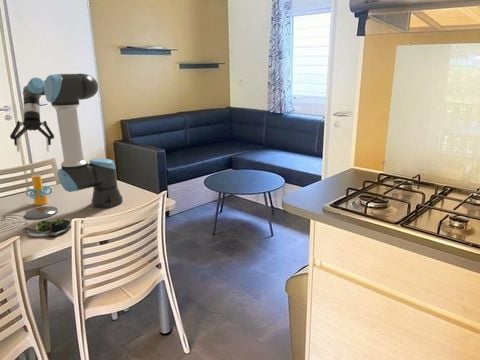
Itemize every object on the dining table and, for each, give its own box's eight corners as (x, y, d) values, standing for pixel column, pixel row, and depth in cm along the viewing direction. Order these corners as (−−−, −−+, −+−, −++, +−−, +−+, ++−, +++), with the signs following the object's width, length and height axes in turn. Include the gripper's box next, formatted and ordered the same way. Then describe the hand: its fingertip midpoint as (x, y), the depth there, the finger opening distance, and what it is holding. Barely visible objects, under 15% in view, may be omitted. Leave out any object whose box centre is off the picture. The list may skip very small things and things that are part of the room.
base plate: (64, 210, 189) (63, 208, 189) (40, 221, 177) (39, 219, 176) (43, 206, 194) (43, 204, 194) (18, 216, 182) (18, 214, 182)
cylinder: (42, 208, 192) (36, 179, 187) (23, 207, 194) (18, 178, 189) (57, 200, 203) (53, 172, 199) (40, 198, 205) (35, 172, 201)
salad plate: (15, 241, 158) (12, 230, 157) (33, 223, 175) (31, 214, 174) (63, 238, 159) (61, 228, 158) (77, 221, 176) (75, 212, 175)
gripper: (58, 117, 212) (60, 152, 207) (6, 116, 202) (6, 154, 197) (57, 110, 206) (59, 147, 200) (3, 110, 196) (3, 148, 190)
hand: (33, 150), depth 199 cm, fingers open, 13 cm apart
